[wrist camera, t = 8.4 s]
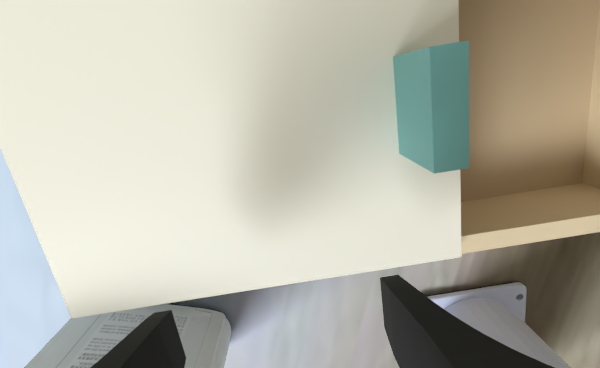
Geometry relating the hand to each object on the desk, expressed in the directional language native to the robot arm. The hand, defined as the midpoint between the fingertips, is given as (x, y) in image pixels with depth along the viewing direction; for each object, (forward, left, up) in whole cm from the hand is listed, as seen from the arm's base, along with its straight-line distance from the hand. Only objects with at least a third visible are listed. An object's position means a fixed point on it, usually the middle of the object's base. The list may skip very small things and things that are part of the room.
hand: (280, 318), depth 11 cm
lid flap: (+6, +1, -5) cm, 8 cm away
